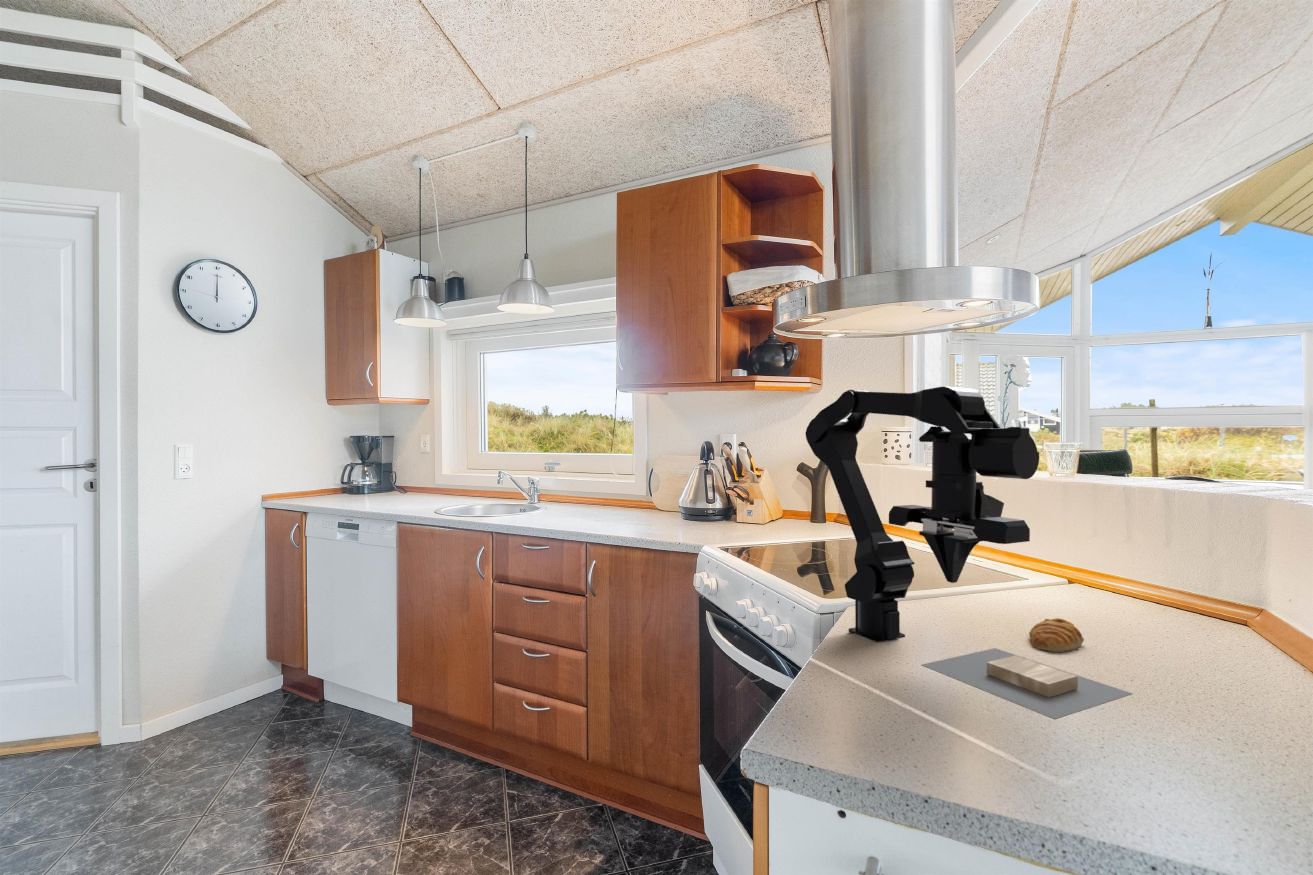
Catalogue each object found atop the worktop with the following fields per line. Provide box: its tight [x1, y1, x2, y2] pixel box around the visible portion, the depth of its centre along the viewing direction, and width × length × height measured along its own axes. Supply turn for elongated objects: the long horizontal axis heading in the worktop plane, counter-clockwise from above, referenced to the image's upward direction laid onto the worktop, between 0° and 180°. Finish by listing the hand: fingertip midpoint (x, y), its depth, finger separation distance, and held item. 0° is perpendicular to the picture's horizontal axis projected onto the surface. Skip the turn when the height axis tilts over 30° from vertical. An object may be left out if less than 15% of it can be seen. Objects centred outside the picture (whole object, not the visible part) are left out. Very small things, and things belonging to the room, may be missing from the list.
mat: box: [921, 647, 1133, 720], centre depth 77 cm, size 18×16×1 cm
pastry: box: [1028, 617, 1085, 653], centre depth 90 cm, size 9×7×4 cm
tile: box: [987, 655, 1078, 697], centre depth 75 cm, size 2×6×8 cm
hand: (952, 582), depth 83 cm, fingers closed
